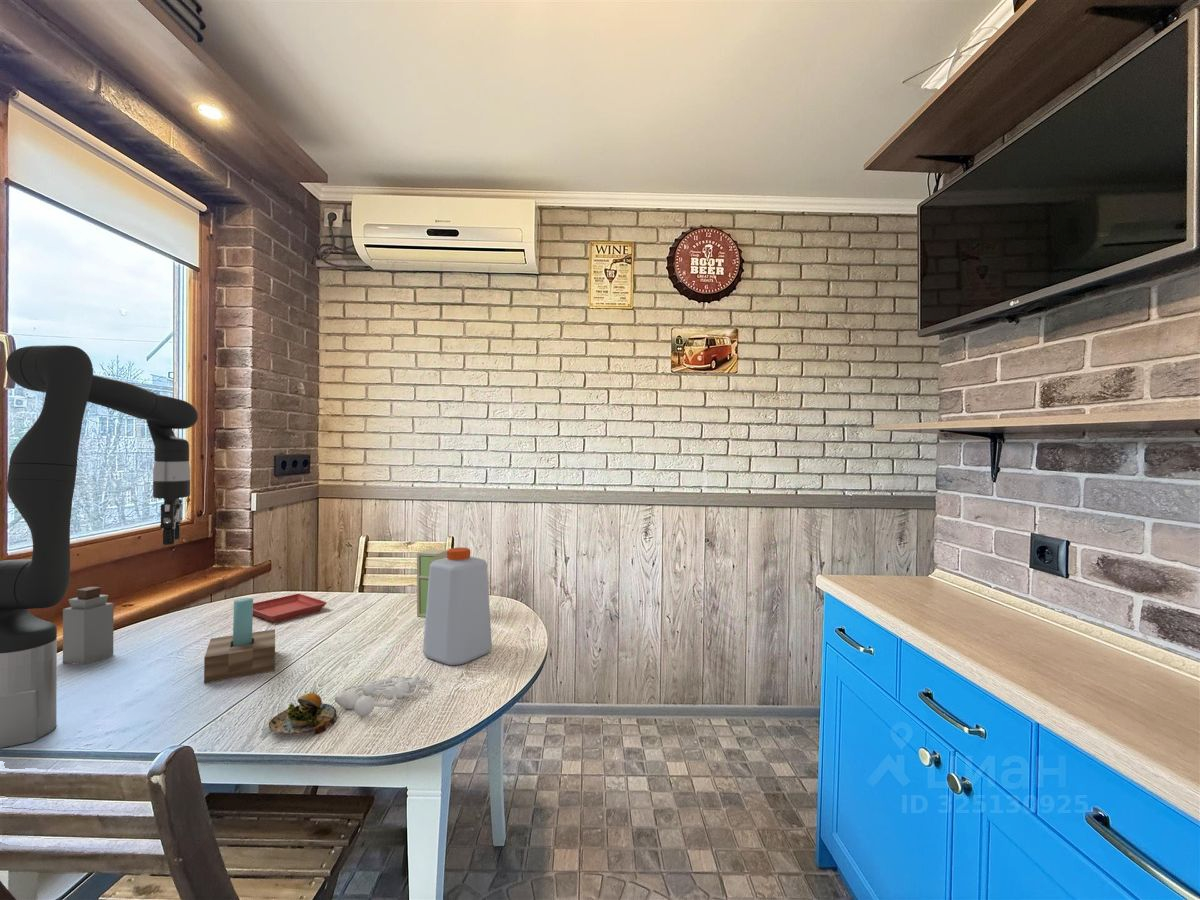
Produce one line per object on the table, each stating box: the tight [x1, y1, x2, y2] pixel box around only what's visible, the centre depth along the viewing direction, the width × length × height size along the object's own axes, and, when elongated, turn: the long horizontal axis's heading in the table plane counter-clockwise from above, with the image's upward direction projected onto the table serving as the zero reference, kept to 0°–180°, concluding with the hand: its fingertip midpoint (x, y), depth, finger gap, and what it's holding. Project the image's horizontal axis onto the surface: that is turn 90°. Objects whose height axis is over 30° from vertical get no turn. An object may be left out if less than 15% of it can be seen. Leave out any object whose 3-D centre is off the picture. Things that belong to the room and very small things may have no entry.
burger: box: [268, 685, 338, 736], centre depth 106 cm, size 12×12×8 cm
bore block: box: [203, 628, 276, 684], centre depth 134 cm, size 14×14×6 cm
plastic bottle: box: [422, 547, 493, 666], centre depth 144 cm, size 15×15×28 cm
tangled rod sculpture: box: [334, 675, 428, 717], centre depth 119 cm, size 19×14×4 cm
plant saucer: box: [253, 593, 328, 623], centre depth 176 cm, size 18×18×3 cm
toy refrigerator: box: [416, 548, 449, 618], centre depth 175 cm, size 8×7×21 cm
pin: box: [232, 597, 254, 647], centre depth 134 cm, size 4×4×15 cm
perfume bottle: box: [62, 586, 115, 666], centre depth 137 cm, size 7×7×18 cm
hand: (171, 541), depth 138 cm, fingers open, 8 cm apart
